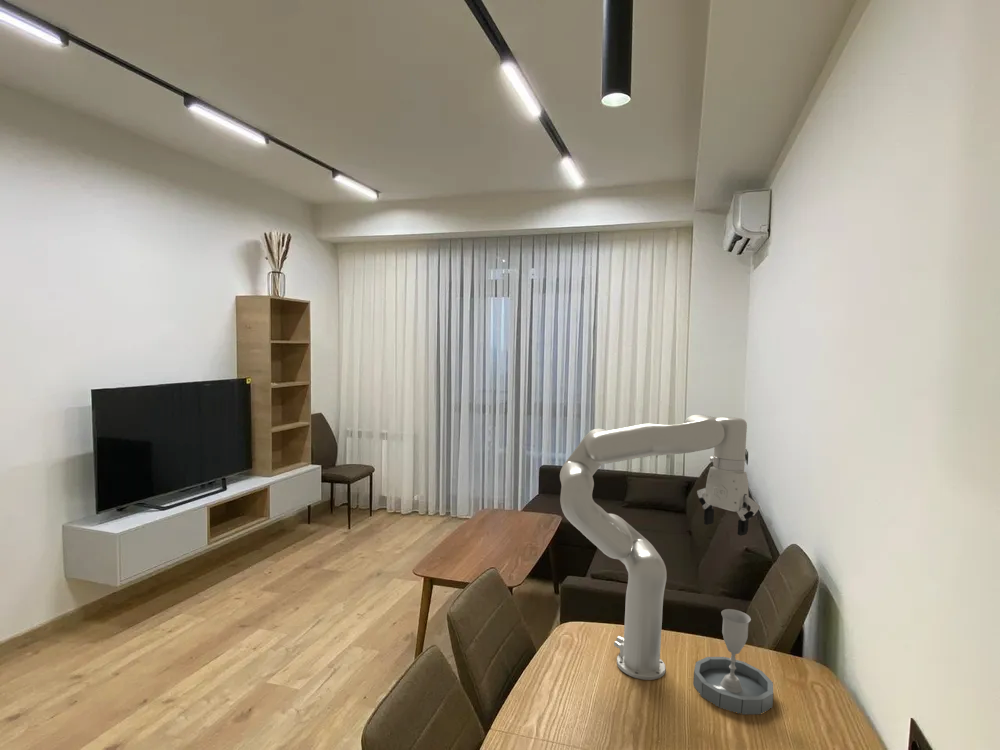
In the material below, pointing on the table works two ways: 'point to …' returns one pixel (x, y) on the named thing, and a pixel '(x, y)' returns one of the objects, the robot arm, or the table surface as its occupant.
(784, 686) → the table surface
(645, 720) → the table surface
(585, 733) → the table surface
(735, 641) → the chalice
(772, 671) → the table surface
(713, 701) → the bowl
